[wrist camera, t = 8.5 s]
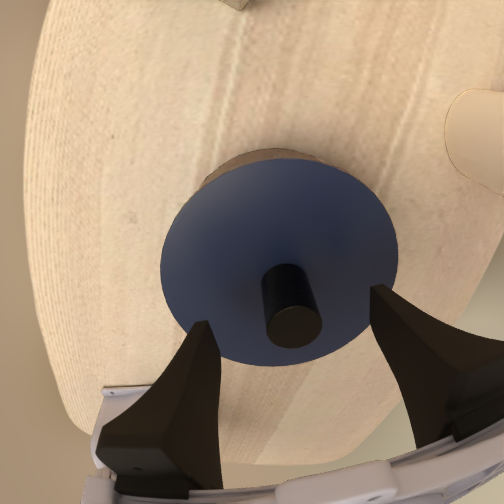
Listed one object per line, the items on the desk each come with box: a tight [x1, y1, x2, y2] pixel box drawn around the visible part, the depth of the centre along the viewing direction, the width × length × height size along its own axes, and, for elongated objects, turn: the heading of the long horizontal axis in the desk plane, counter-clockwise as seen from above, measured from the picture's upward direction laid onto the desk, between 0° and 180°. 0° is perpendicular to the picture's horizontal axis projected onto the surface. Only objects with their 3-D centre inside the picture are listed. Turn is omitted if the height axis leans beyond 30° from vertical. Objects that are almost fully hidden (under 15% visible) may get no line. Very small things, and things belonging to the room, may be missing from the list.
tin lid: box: [160, 157, 398, 367], centre depth 15 cm, size 13×13×5 cm
